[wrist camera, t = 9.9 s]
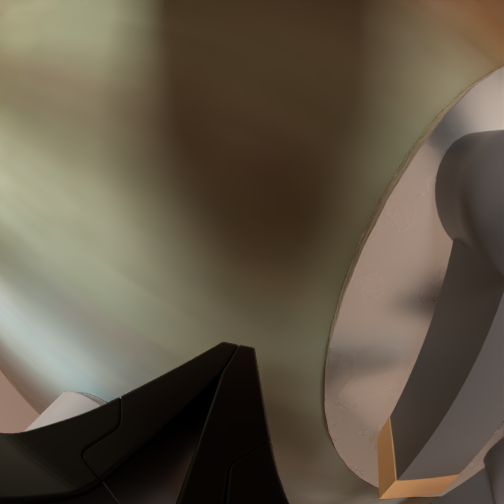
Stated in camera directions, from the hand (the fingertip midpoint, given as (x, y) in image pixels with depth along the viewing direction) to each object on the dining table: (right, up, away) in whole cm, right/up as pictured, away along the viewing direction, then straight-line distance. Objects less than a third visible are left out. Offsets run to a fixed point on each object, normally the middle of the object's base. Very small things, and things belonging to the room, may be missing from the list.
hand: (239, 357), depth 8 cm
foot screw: (+7, +1, 0) cm, 7 cm away
